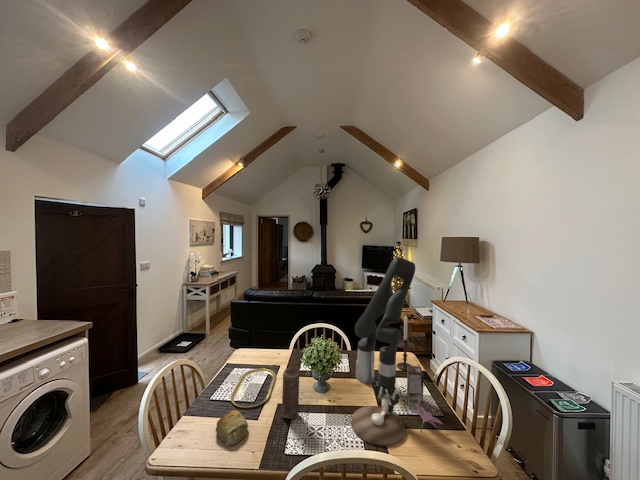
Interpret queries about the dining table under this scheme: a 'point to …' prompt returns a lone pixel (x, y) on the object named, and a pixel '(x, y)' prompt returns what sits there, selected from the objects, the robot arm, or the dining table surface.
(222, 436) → the pastry
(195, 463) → the dining table surface
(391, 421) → the brown flat rounded piece
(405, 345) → the candlestick
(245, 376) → the brass oval ring
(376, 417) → the tuning crank
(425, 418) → the lily
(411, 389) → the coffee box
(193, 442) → the dining table surface
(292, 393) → the candle
